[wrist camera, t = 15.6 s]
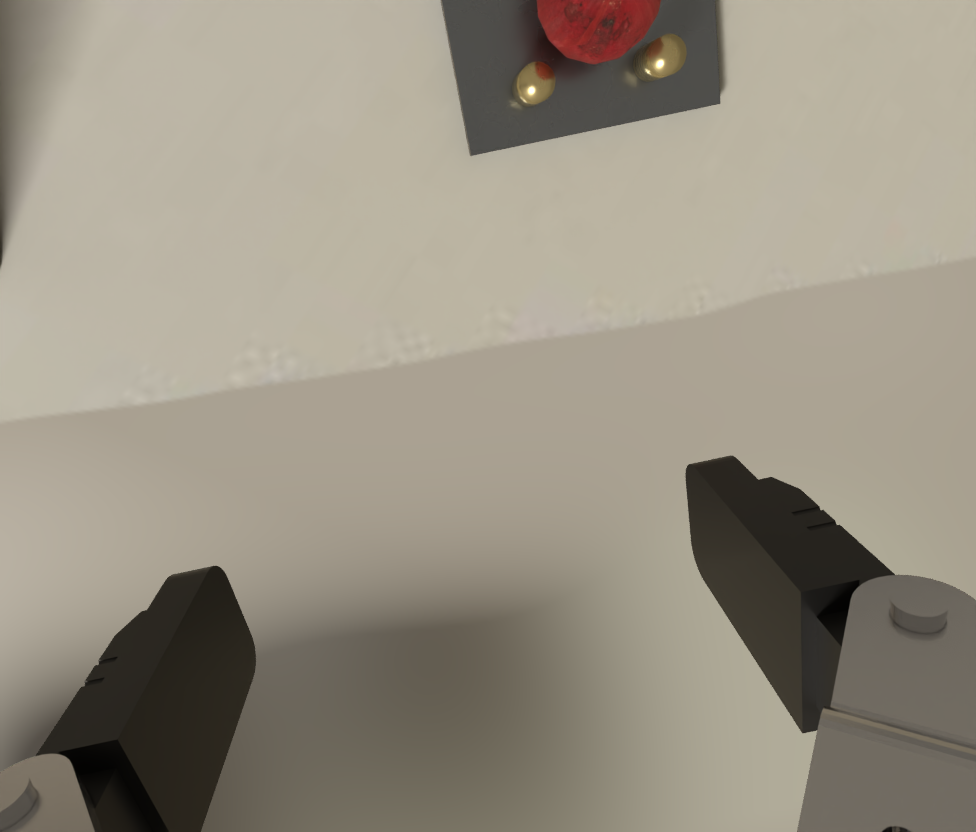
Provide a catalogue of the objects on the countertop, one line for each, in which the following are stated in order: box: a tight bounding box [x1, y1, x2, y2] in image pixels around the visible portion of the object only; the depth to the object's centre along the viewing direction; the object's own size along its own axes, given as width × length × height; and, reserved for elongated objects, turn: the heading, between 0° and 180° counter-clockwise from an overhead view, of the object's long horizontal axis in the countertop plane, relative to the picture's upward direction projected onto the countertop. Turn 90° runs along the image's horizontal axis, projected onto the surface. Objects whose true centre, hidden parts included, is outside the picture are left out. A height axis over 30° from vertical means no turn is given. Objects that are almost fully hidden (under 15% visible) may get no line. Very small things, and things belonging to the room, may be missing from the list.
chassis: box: [441, 0, 720, 156], centre depth 33 cm, size 14×12×4 cm
